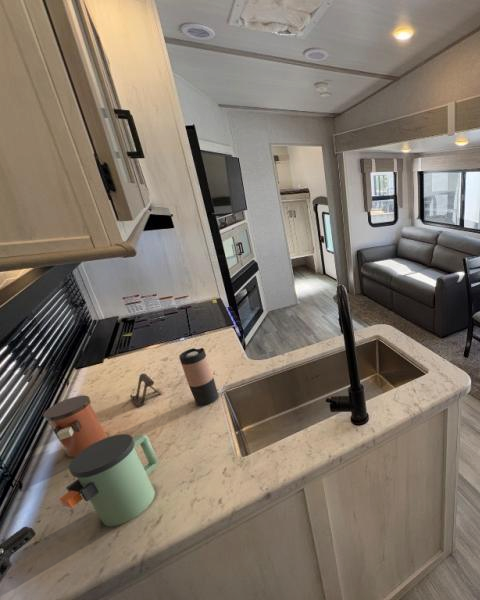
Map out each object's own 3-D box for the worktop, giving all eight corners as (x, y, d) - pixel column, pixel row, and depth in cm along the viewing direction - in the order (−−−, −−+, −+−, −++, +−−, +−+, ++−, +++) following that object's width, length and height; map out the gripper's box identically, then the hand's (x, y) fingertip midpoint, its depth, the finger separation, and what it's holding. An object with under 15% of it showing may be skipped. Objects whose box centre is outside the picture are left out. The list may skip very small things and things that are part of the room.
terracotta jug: (75, 436, 99) (54, 397, 94) (114, 424, 104) (96, 386, 99) (59, 467, 88) (34, 425, 83) (103, 451, 93) (82, 410, 87)
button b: (62, 435, 86) (59, 430, 86) (74, 431, 88) (71, 426, 87) (59, 440, 85) (56, 434, 84) (71, 436, 86) (68, 430, 85)
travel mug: (199, 410, 108) (182, 361, 101) (193, 401, 113) (176, 353, 106) (222, 398, 113) (207, 351, 106) (215, 390, 118) (200, 345, 111)
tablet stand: (131, 399, 116) (123, 381, 113) (156, 388, 122) (148, 370, 119) (138, 408, 111) (130, 389, 108) (163, 396, 117) (156, 378, 114)
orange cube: (74, 496, 66) (70, 490, 65) (83, 498, 65) (79, 492, 64) (63, 505, 64) (59, 498, 63) (71, 507, 63) (67, 501, 63)
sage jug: (148, 471, 85) (124, 421, 79) (179, 477, 82) (158, 426, 76) (82, 529, 71) (48, 473, 65) (118, 539, 68) (85, 482, 62)
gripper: (-125, 658, 40) (46, 523, 55) (-178, 630, 43) (-2, 509, 59) (-89, 687, 42) (64, 550, 58) (-142, 658, 45) (17, 535, 61)
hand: (30, 530), depth 58 cm, fingers closed
